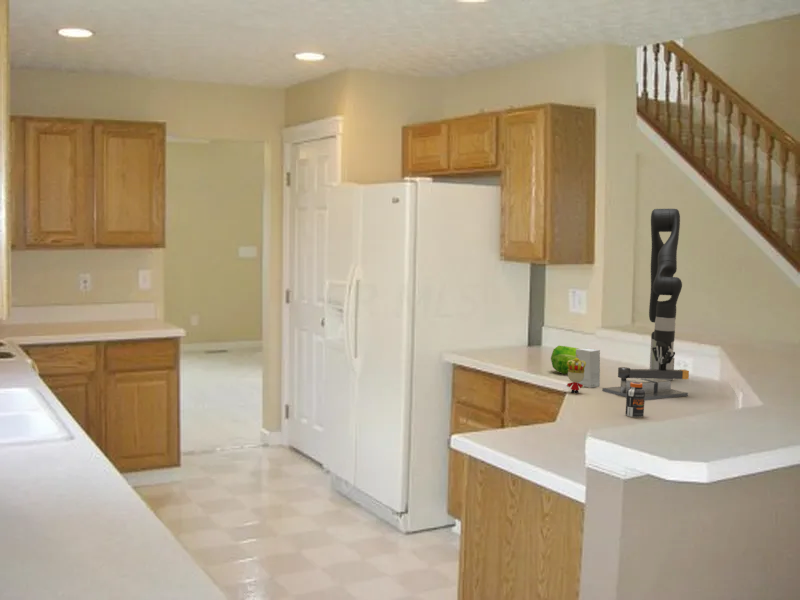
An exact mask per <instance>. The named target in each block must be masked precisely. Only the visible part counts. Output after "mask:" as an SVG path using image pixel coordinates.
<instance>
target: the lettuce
mask: <svg viewBox="0 0 800 600" xmlns="http://www.w3.org/2000/svg"><path fill="white" fill-rule="evenodd" d="M576 349H580V348H577V347H574V346H566V345H557V346H555V347H554V348H553V350H552V353H551V356H550V361H551V365H552V368H553V369H554V370H555V371H556V372H557V373H560V374H563V375H565V374H567V375H568V365H567V362H568V360H574V359H575V358H576V356H575V355H576ZM571 363H572V361H570V362H569V364H570V366H571ZM575 365H576V363H575Z"/></svg>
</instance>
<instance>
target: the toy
mask: <svg viewBox="0 0 800 600" xmlns="http://www.w3.org/2000/svg"><path fill="white" fill-rule="evenodd" d="M575 356H576V355H575ZM577 356H579V355H577ZM570 361H572V363H571V366H570V364H569V362H570ZM582 362H583V363H584V366H583V367H582V366H581V365H582ZM575 363H578V365H575ZM567 365H568V373H567V377H568V380H569V381H570V382H567V383H566V387H567V388H570V390H571V391H570V392H571V394H579V393H580V392H579V391H580V389H584V388H585V386H583V385H582V384H579V383H578V382H580V381H582V380H583V378H584V371H585V370H584V368H585V366H586V362H585V361H581V360H579V359H578V358H575V359H574V360H568V362H567ZM577 384H578V385H577Z"/></svg>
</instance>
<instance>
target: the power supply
mask: <svg viewBox="0 0 800 600" xmlns="http://www.w3.org/2000/svg"><path fill="white" fill-rule="evenodd" d="M631 382H639V383H642V384H643V385H642V389H643V390H644V391H645V393H654V382H650V381H646V380H641V378H627V379H626V390H628V389H629V388H630V383H631Z"/></svg>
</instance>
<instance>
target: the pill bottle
mask: <svg viewBox="0 0 800 600" xmlns="http://www.w3.org/2000/svg"><path fill="white" fill-rule="evenodd" d="M642 385H643V384H642V383H639V382H631V383H630V388H629V389H628V390H627V397H625V415H626V416H627V417H630V418H643V417H644V412H645V401H646V400H645V391H644V390H643V389H642Z"/></svg>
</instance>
